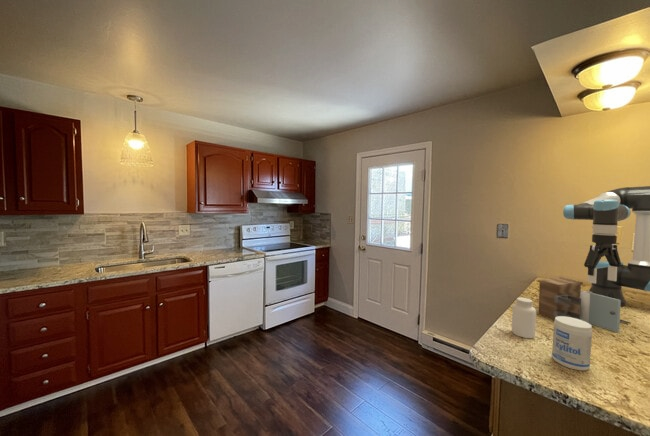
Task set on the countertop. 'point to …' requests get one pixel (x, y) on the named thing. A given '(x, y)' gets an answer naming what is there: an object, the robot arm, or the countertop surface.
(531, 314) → the pill bottle
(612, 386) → the countertop surface
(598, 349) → the countertop surface
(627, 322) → the pliers
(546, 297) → the cabinet
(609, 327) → the door
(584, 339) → the supplement tub
